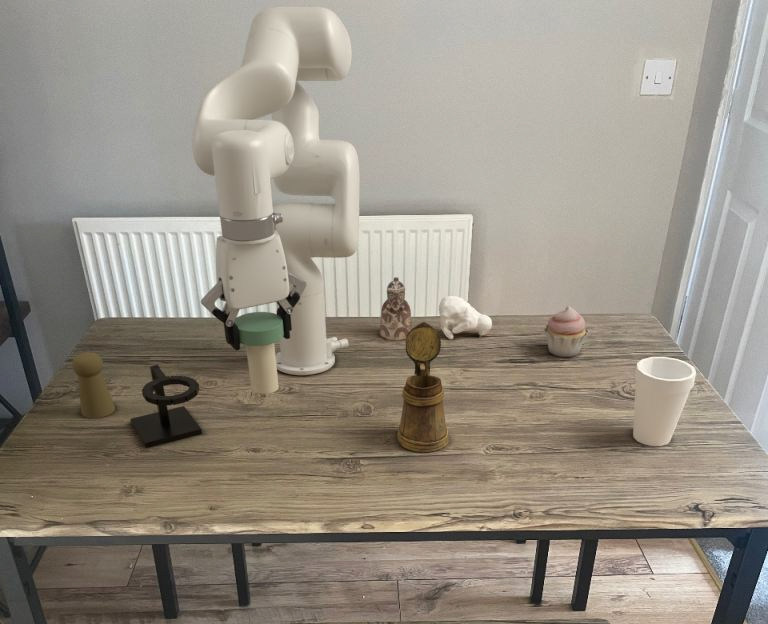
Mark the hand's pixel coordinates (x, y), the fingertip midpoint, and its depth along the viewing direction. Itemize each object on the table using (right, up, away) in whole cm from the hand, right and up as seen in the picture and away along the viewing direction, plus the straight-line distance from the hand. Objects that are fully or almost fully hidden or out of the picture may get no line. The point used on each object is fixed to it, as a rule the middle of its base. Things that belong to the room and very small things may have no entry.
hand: (259, 340), depth 125 cm
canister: (0, -7, +5) cm, 8 cm away
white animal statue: (+37, +12, +52) cm, 65 cm away
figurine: (+22, +13, +53) cm, 59 cm away
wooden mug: (+26, -13, +17) cm, 34 cm away
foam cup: (+66, -14, +15) cm, 69 cm away
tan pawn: (-34, -8, +24) cm, 42 cm away
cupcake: (+57, +7, +45) cm, 73 cm away
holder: (-18, -14, +15) cm, 27 cm away
